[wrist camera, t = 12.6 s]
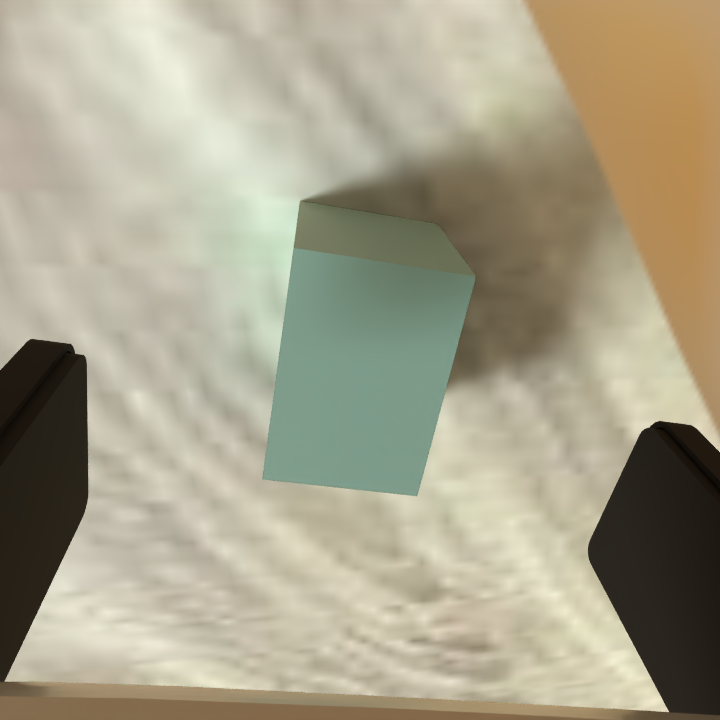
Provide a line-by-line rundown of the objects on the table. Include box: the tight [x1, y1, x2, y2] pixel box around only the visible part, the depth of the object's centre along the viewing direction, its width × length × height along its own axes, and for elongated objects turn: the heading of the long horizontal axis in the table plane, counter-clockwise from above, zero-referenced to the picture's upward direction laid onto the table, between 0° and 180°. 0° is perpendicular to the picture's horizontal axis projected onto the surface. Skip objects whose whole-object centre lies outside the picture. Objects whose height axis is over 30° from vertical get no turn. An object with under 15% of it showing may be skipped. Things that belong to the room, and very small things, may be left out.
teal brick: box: [262, 201, 476, 496], centre depth 17 cm, size 6×4×5 cm, turn 170°
